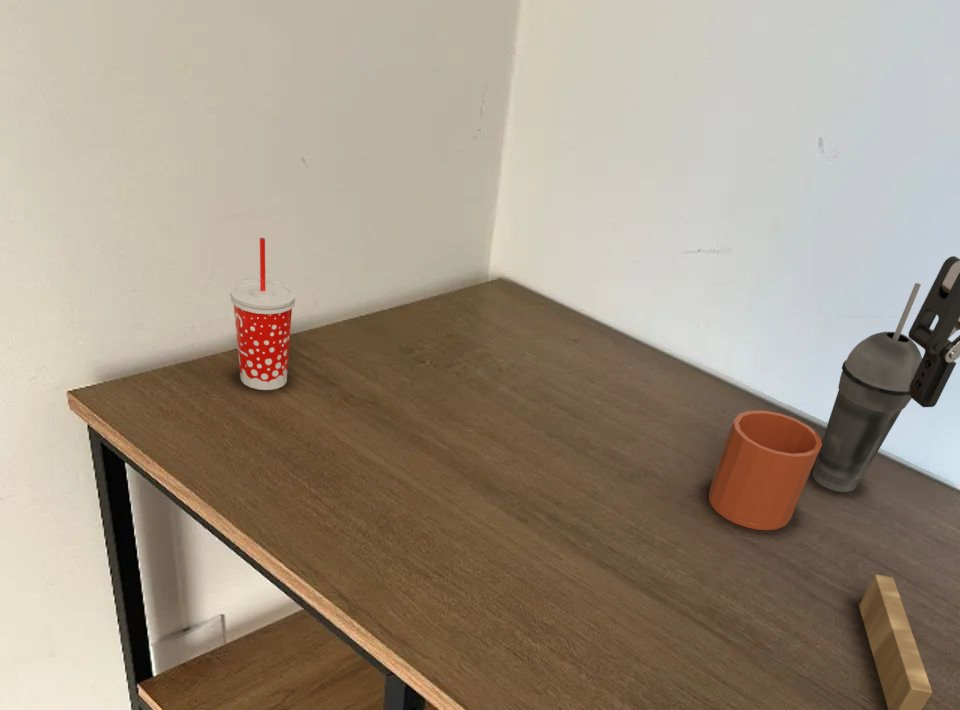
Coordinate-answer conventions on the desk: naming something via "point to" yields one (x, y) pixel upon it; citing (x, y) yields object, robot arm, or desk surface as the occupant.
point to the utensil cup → (763, 469)
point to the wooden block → (894, 646)
